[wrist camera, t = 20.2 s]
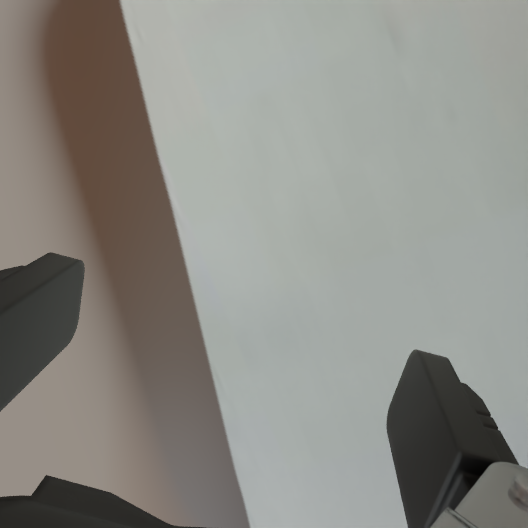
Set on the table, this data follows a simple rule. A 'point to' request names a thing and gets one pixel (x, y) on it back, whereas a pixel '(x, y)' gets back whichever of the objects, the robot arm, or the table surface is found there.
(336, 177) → the table surface
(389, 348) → the table surface
